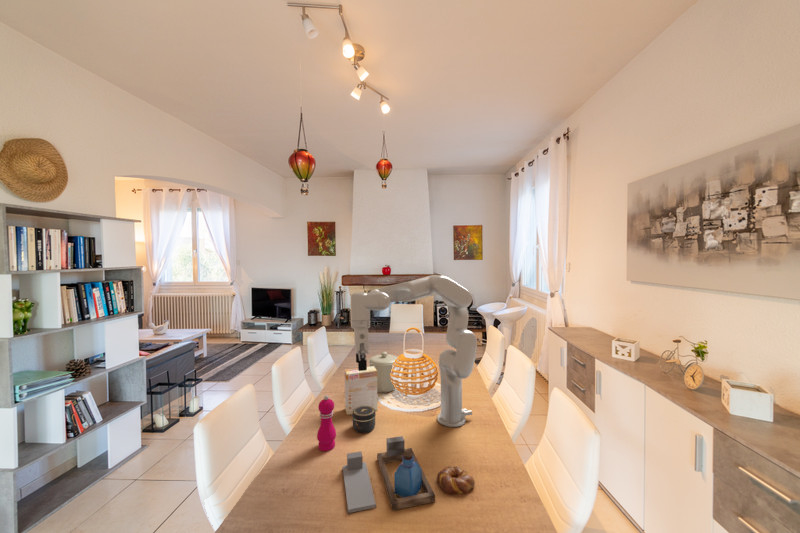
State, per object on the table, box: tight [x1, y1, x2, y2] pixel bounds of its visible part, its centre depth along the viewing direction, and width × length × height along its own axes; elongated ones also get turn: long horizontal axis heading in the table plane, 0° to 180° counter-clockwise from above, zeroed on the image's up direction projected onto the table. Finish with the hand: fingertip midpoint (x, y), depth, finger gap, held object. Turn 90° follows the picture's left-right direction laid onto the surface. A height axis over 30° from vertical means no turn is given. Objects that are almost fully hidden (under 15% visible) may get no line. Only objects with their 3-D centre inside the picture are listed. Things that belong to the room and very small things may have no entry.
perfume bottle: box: [393, 450, 423, 498], centre depth 99 cm, size 6×6×12 cm
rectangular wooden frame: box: [376, 435, 436, 511], centre depth 104 cm, size 13×24×7 cm, turn 15°
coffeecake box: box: [344, 366, 378, 416], centre depth 153 cm, size 15×7×20 cm, turn 108°
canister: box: [367, 351, 399, 394], centre depth 177 cm, size 18×18×21 cm
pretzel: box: [436, 466, 476, 495], centre depth 102 cm, size 12×11×4 cm
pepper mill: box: [316, 394, 337, 452], centre depth 122 cm, size 7×7×20 cm
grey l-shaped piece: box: [342, 451, 377, 514], centre depth 101 cm, size 8×20×5 cm, turn 15°
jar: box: [351, 406, 376, 434], centre depth 136 cm, size 10×10×8 cm
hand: (361, 366), depth 126 cm, fingers open, 9 cm apart
